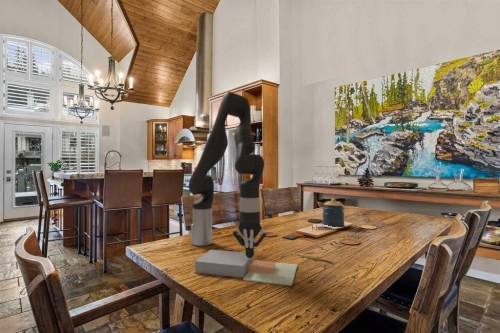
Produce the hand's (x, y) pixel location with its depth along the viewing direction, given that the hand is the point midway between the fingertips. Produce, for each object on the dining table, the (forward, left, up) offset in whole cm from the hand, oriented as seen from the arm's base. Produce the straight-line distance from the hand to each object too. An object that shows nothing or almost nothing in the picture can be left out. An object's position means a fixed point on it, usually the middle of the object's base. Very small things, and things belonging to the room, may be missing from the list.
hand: (250, 257), depth 101 cm
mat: (+8, 0, -5) cm, 9 cm away
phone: (+10, +52, -6) cm, 54 cm away
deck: (-9, 0, -5) cm, 11 cm away
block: (+4, +1, -4) cm, 6 cm away
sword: (+18, +21, -5) cm, 28 cm away
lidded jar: (+31, +80, -5) cm, 86 cm away
